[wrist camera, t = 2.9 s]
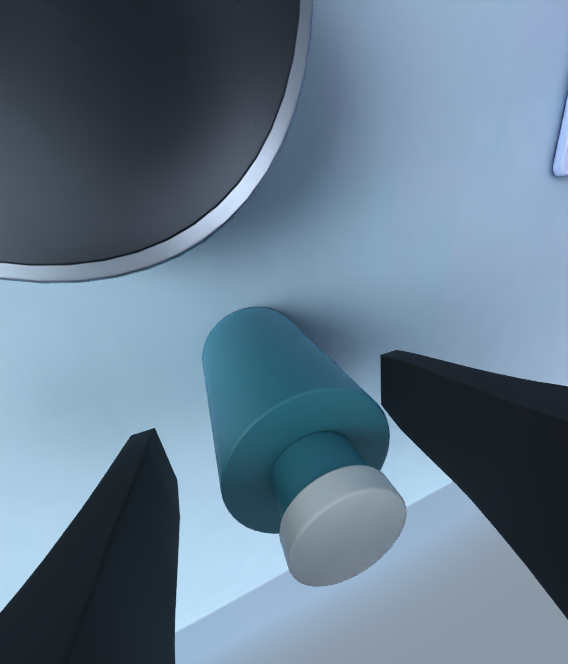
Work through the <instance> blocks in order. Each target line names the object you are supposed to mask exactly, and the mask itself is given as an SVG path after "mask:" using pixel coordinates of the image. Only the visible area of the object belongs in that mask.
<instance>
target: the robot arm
mask: <svg viewBox="0 0 568 664" xmlns="http://www.w3.org/2000/svg"><path fill="white" fill-rule="evenodd" d="M553 172H554V174H555V175H556V176H565V175H568V96H567V101H566V106H565V111H564V116H563V121H562V126H561V131H560V135H559V140H558V145H557V150H556V155H555V160H554V165H553ZM381 405H382V406H383V408H384V409H385V410H386V412H387V413H388V414H389V416H390V417H391V418H392V419H393V421H394V422H395V423H396V424H397V426H398V427H399V428H400V429H401V430H402V431H403V432H404V433H405V434H406V435H407V436H408V437H409V438H410V439H411V440H412V441H413V442H414V443H415V444H416V445H417V446H418V447H419V448H420V449H421V450H422V451H423V452H424V453H425V454H426V455H427V456H428V457H429V458H430V459H431V460H432V461H433V462H434V463H435V464H436V465H437V466H438V467H439V468H440V469H441V470H442V471H443V472H444V473H445V474H446V475H447V476H448V477H449V478H451V479H452V480H453V481H454V482H455V483H456V484H457V485H458V486H459V488H460V489H461V490H462V491H463V492H464V493H465V494H466V495H467V496H468V497H469V498H470V499H471V500H472V501H473V502H474V504H475V505H476V506H477V507H478V508H479V510H480V511H481V512H482V513H483V514H484V515H485V517H486V518H487V519H488V520H489V521H490V522H491V524H492V525H493V526H494V527H495V528H496V529H497V531H498V532H499V533H500V534H501V535H502V537H503V538H504V539H505V540H506V542H507V543H508V544H509V545H510V546H511V547H512V549H513V550H514V551H515V553H516V554H517V555H518V556H519V557H520V559H521V560H522V561H523V562H524V564H525V565H526V566H527V567H528V568H529V570H530V571H531V572H532V574H533V575H534V576H535V578H536V579H537V580H538V582H539V583H540V584H541V585H542V587H543V588H544V589H545V591H546V592H547V593H548V594H549V596H550V597H551V598H552V600H553V601H554V602H555V604H556V605H557V606H558V607H559V609H560V610H561V611H562V613H563V614H564V615H565V617H566V618H567V619H568V386H562V385H556V384H550V383H543V382H537V381H531V380H526V379H521V378H516V377H511V376H506V375H501V374H497V373H492V372H488V371H483V370H479V369H475V368H471V367H467V366H462V365H458V364H454V363H451V362H447V361H443V360H439V359H435V358H431V357H427V356H423V355H419V354H415V353H410V352H405V351H399V350H395V351H391V352H388V353H385V354H382V355H381ZM179 524H180V512H179V497H178V484H177V478H176V476H175V474H174V471H173V469H172V467H171V464H170V462H169V460H168V457H167V455H166V453H165V450H164V448H163V446H162V443H161V441H160V439H159V437H158V434H157V432H156V430H155V428H153V429H150V430H147V431H144V432H141V433H137V434H134V435H131V437H130V438H129V440H128V441H127V442H126V444H125V445H124V447H123V448H122V450H121V451H120V453H119V454H118V456H117V457H116V459H115V460H114V462H113V463H112V465H111V466H110V468H109V469H108V471H107V472H106V474H105V475H104V477H103V478H102V480H101V481H100V483H99V484H98V486H97V487H96V489H95V490H94V491H93V493H92V494H91V496H90V497H89V499H88V500H87V502H86V503H85V505H84V506H83V507H82V509H81V510H80V512H79V513H78V514H77V516H76V517H75V518H74V520H73V521H72V522H71V524H70V525H69V526H68V528H67V529H66V530H65V532H64V533H63V534H62V536H61V537H60V538H59V540H58V541H57V542H56V544H55V545H54V546H53V548H52V549H51V550H50V552H49V553H48V554H47V556H46V557H45V559H44V560H43V561H42V562H41V564H40V565H39V566H38V567H37V569H36V570H35V571H34V572H33V574H32V575H31V576H30V577H29V579H28V580H27V581H26V582H25V584H24V585H23V586H22V587H21V589H20V590H19V591H18V592H17V593H16V595H15V596H14V597H13V598H12V599H11V601H10V602H9V603H8V604H7V605H6V607H5V608H4V609H3V610H2V611H1V613H0V664H175V608H176V588H177V568H178V547H179Z"/></svg>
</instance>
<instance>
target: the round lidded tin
mask: <svg viewBox="0 0 568 664" xmlns="http://www.w3.org/2000/svg"><path fill="white" fill-rule="evenodd" d="M312 9H313V0H0V280H10V281H22V282H34V283H80V282H89V281H96V280H104V279H111V278H118V277H122V276H125V275H129V274H133V273H137V272H140V271H144V270H148V269H151V268H153V267H156V266H158V265H161V264H163V263H165V262H168V261H170V260H173V259H175V258H177V257H179V256H181V255H183V254H185V253H186V252H188V251H190V250H191V249H193V248H195V247H197V246H198V245H200V244H202V243H203V242H205V241H206V240H208V239H209V238H210V237H211V236H213V235H214V234H215V233H216V232H218V231H219V230H220V229H221V228H223V227H224V226H225V225H226V224H228V223H229V222H230V221H231V220H232V219H233V218H234V216H235V215H236V214H237V213H238V212H239V211H240V210H241V209H242V208H243V207H244V206H245V205H246V204H247V203H248V202H249V201H250V199H251V198H252V196H253V195H254V194H255V192H256V191H257V189H258V188H259V187H260V185H261V184H262V182H263V181H264V180H265V178H266V177H267V175H268V173H269V172H270V170H271V168H272V166H273V164H274V162H275V160H276V158H277V157H278V155H279V153H280V151H281V149H282V147H283V145H284V142H285V140H286V137H287V134H288V132H289V129H290V127H291V124H292V121H293V119H294V116H295V113H296V110H297V106H298V102H299V98H300V94H301V90H302V87H303V83H304V79H305V73H306V66H307V60H308V53H309V47H310V40H311V28H312Z"/></svg>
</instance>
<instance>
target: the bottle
mask: <svg viewBox="0 0 568 664" xmlns="http://www.w3.org/2000/svg"><path fill="white" fill-rule="evenodd" d="M202 359H203V368H204V375H205V382H206V389H207V396H208V403H209V411H210V418H211V425H212V432H213V439H214V446H215V453H216V460H217V467H218V474H219V481H220V488H221V494H222V498H223V501H224V503H225V506H226V508H227V509H228V511H229V512H230V513H231V515H232V516H233V517H234V518H235V519H236V520H237V521H238V522H239V523H241V524H243V525H244V526H246V527H248V528H250V529H253V530H255V531H259V532H263V533H272V534H279V536H280V542H281V545H282V548H283V552H284V555H285V558H286V562H287V565H288V568H289V571H290V573H291V574H292V575H293V577H294V578H295V579H296V580H297V581H298V582H300V583H302V584H305V585H309V586H328V585H333V584H337V583H340V582H343V581H345V580H348V579H350V578H352V577H354V576H356V575H358V574H360V573H361V572H363V571H364V570H366V569H368V568H369V567H370V566H372V565H373V564H374V563H376V562H377V561H378V560H379V559H380V558H381V557H382V556H383V555H384V554H385V553H386V552H387V551H388V550H389V549H390V548H391V547H392V545H393V544H394V543H395V541H396V540H397V538H398V537H399V535H400V533H401V531H402V529H403V526H404V524H405V519H406V506H405V503H404V500H403V498H402V497H401V495H400V494H399V493H398V492H397V490H396V489H395V488H394V486H393V485H392V484H391V483H390V481H389V480H388V479H387V478H386V476H385V475H384V474H383V473H382V472H380V470H381V468H382V466H383V464H384V461H385V458H386V456H387V452H388V447H389V439H390V434H389V426H388V422H387V419H386V416H385V414H384V412H383V410H382V409H381V407H380V406H379V405H378V404H377V403H376V402H375V401H374V400H373V399H372V398H371V397H370V396H369V395H368V394H367V393H366V392H365V391H364V390H363V389H362V388H361V387H360V386H359V385H358V384H357V383H355V382H354V381H353V380H352V379H351V378H350V377H349V376H348V375H347V374H346V373H345V372H344V371H343V370H342V369H341V368H340V367H339V366H338V365H337V364H336V363H335V362H333V361H332V360H331V359H330V358H329V357H328V356H327V355H326V354H325V353H324V352H323V351H322V350H321V349H320V348H319V347H318V346H317V345H316V344H315V343H314V342H313V341H311V340H310V339H309V338H308V337H307V336H306V335H305V334H304V333H303V332H302V331H301V330H300V329H299V328H298V327H297V326H296V325H295V324H294V323H293V322H292V321H290V320H289V319H288V318H287V317H286V316H285V315H283V314H282V313H280V312H278V311H275V310H273V309H269V308H264V307H251V308H245V309H242V310H238V311H236V312H234V313H232V314H230V315H228V316H227V317H225V318H224V319H222V320H221V321H220V322H219V323H218V324H217V325H216V326H215V327H214V328H213V330H212V331H211V332H210V334H209V336H208V338H207V340H206V342H205V345H204V349H203V357H202Z"/></svg>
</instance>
